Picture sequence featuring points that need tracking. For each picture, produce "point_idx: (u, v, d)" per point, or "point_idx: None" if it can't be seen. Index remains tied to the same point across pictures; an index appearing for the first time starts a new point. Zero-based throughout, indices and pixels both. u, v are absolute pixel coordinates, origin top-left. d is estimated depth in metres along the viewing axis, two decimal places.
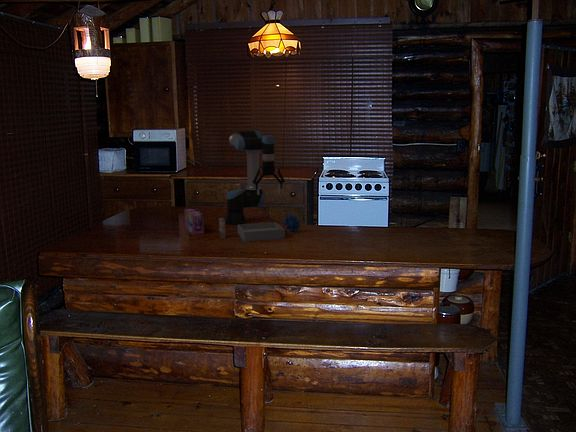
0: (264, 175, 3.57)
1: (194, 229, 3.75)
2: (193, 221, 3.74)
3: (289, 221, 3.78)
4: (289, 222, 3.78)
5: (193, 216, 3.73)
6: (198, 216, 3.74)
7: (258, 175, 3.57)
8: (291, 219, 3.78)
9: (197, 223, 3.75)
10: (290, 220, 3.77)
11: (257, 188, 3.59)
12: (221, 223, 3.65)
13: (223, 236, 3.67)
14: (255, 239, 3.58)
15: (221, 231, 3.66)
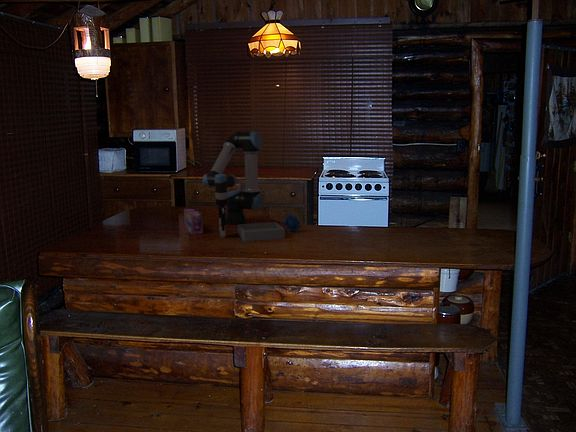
0: None
1: (193, 229, 3.75)
2: (192, 221, 3.74)
3: (289, 221, 3.78)
4: (289, 222, 3.78)
5: (192, 216, 3.73)
6: (197, 216, 3.74)
7: None
8: (291, 219, 3.78)
9: (196, 223, 3.75)
10: (290, 220, 3.78)
11: None
12: None
13: (223, 236, 3.67)
14: (255, 239, 3.58)
15: None
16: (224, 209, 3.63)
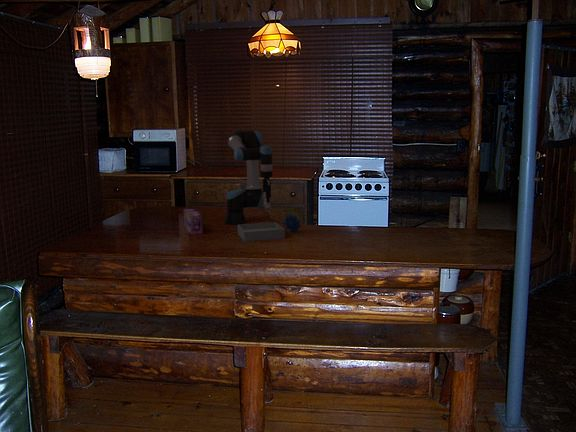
0: (263, 185, 3.66)
1: (192, 229, 3.75)
2: (191, 221, 3.74)
3: (289, 221, 3.78)
4: (289, 222, 3.78)
5: (191, 216, 3.73)
6: (196, 216, 3.74)
7: (263, 185, 3.69)
8: (291, 219, 3.78)
9: (195, 223, 3.75)
10: (290, 220, 3.77)
11: None
12: None
13: (268, 210, 3.66)
14: (255, 239, 3.58)
15: None
16: None
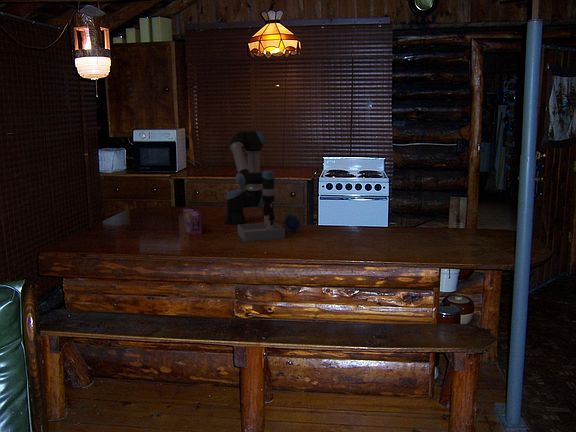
0: (264, 208, 3.71)
1: (192, 229, 3.75)
2: (191, 221, 3.74)
3: (289, 221, 3.78)
4: (289, 222, 3.78)
5: (191, 216, 3.73)
6: (196, 216, 3.74)
7: (264, 207, 3.74)
8: (291, 219, 3.78)
9: (195, 223, 3.75)
10: (290, 220, 3.78)
11: None
12: (268, 222, 3.68)
13: None
14: (255, 239, 3.58)
15: None
16: None
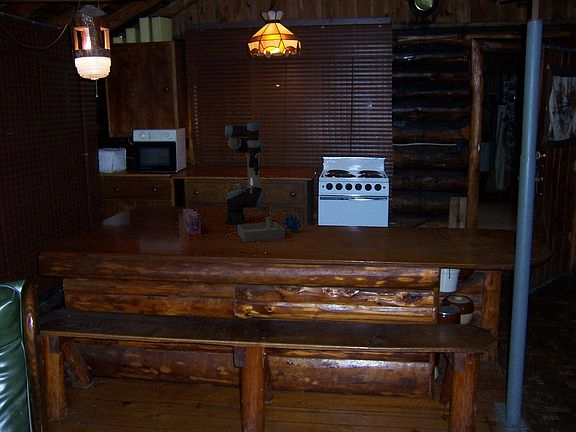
0: (250, 160, 3.79)
1: (191, 229, 3.75)
2: (190, 221, 3.74)
3: (289, 221, 3.78)
4: (289, 222, 3.78)
5: (190, 216, 3.73)
6: (195, 216, 3.74)
7: (249, 159, 3.83)
8: (291, 219, 3.78)
9: (194, 223, 3.75)
10: (290, 220, 3.78)
11: None
12: (268, 222, 3.68)
13: None
14: (255, 239, 3.58)
15: None
16: None
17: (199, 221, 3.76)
